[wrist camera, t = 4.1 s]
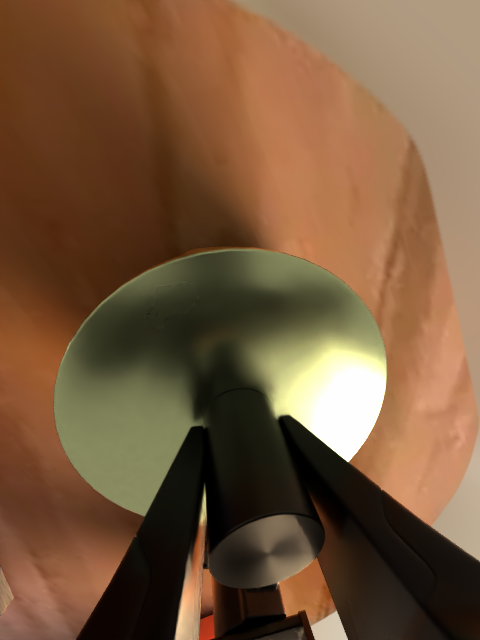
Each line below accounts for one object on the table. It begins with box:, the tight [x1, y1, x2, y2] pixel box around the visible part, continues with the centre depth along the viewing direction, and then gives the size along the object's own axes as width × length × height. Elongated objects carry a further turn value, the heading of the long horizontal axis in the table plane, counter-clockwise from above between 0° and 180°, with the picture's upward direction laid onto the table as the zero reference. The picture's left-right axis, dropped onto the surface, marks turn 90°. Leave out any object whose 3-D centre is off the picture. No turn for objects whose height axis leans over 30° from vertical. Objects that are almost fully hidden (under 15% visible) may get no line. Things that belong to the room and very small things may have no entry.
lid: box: [53, 247, 387, 588], centre depth 8 cm, size 12×12×5 cm
